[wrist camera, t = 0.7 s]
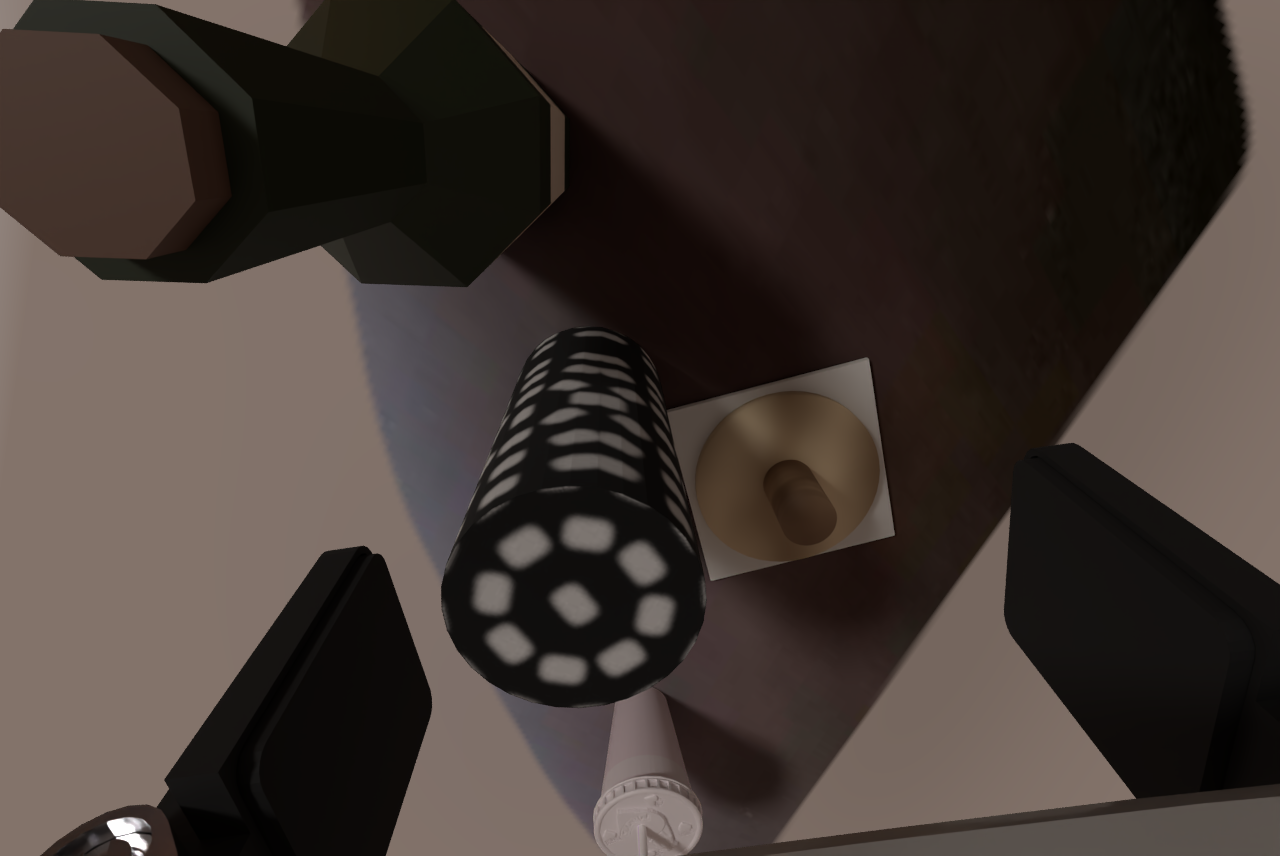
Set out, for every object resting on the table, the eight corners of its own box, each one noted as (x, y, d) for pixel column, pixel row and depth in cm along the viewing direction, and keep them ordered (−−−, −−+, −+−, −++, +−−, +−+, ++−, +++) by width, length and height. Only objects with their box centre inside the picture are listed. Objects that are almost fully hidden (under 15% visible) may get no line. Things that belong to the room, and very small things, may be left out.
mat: (866, 357, 40) (868, 359, 40) (892, 532, 45) (894, 535, 45) (665, 410, 41) (665, 412, 41) (710, 577, 46) (710, 581, 45)
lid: (861, 369, 40) (898, 401, 35) (885, 530, 44) (921, 580, 39) (676, 418, 41) (685, 456, 36) (716, 572, 45) (730, 626, 40)
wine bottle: (601, 106, 35) (576, -62, 7) (538, 260, 38) (343, 574, 10) (441, 25, 33) (-386, -596, 6) (387, 192, 36) (-356, 335, 8)
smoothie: (638, 653, 48) (650, 843, 35) (705, 702, 49) (740, 899, 36) (576, 710, 49) (565, 911, 36) (643, 755, 51) (655, 962, 38)
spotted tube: (688, 413, 41) (755, 628, 23) (574, 486, 43) (548, 745, 24) (607, 296, 39) (606, 433, 20) (487, 379, 40) (384, 579, 21)
